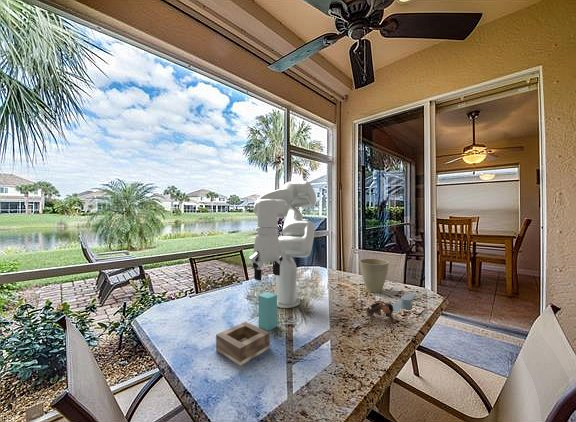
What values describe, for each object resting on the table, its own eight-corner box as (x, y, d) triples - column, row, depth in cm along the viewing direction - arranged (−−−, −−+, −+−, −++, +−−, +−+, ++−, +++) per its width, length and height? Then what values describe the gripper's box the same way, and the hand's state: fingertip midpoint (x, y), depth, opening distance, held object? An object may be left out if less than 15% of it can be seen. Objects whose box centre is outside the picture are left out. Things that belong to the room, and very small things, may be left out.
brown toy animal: (387, 330, 94) (375, 309, 96) (369, 332, 102) (359, 312, 103) (404, 314, 101) (392, 295, 103) (386, 317, 108) (376, 298, 110)
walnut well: (245, 335, 90) (245, 321, 90) (269, 348, 82) (269, 332, 82) (216, 350, 81) (216, 334, 81) (240, 365, 73) (240, 348, 73)
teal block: (268, 322, 100) (268, 291, 100) (277, 326, 97) (277, 294, 97) (258, 326, 96) (258, 295, 96) (267, 331, 93) (267, 298, 93)
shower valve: (427, 296, 114) (416, 305, 103) (427, 308, 114) (416, 319, 104) (399, 290, 123) (386, 298, 112) (399, 301, 123) (386, 310, 112)
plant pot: (364, 284, 148) (364, 257, 147) (391, 289, 139) (391, 260, 139) (355, 291, 136) (355, 262, 135) (384, 297, 127) (384, 265, 127)
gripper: (276, 230, 105) (276, 271, 105) (243, 232, 92) (242, 280, 92) (290, 231, 100) (289, 274, 100) (257, 234, 87) (257, 284, 87)
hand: (267, 277), depth 96 cm, fingers open, 9 cm apart
